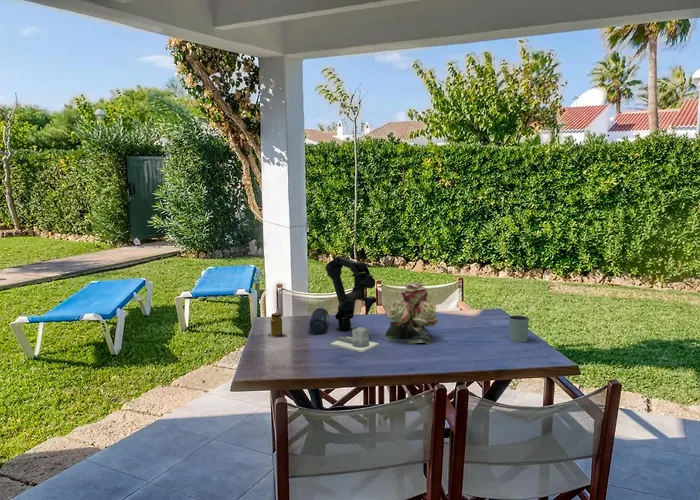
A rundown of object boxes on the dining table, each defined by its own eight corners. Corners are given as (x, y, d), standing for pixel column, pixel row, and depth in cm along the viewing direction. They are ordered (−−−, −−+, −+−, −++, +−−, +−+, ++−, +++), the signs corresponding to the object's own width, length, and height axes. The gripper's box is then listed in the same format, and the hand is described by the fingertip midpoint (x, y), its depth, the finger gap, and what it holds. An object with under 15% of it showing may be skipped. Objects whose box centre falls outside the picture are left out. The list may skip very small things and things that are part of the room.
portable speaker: (327, 335, 292) (326, 317, 290) (308, 335, 292) (308, 317, 291) (329, 322, 317) (329, 306, 315) (312, 322, 317) (312, 306, 315)
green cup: (529, 343, 274) (530, 320, 272) (508, 342, 276) (509, 319, 274) (526, 337, 284) (527, 315, 282) (507, 336, 286) (507, 314, 284)
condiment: (270, 334, 295) (269, 312, 293) (285, 332, 297) (284, 311, 295) (271, 338, 288) (270, 316, 286) (287, 336, 290) (286, 315, 288)
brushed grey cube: (352, 341, 271) (352, 329, 270) (359, 338, 275) (359, 327, 274) (361, 343, 267) (361, 331, 266) (369, 340, 272) (369, 329, 271)
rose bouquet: (380, 342, 279) (380, 285, 275) (401, 327, 304) (401, 275, 300) (427, 348, 267) (428, 289, 263) (445, 333, 293) (446, 279, 289)
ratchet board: (330, 345, 275) (330, 333, 274) (347, 338, 285) (347, 327, 285) (361, 352, 262) (361, 340, 261) (378, 345, 273) (378, 334, 272)
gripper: (336, 285, 286) (336, 314, 288) (364, 290, 275) (364, 319, 277) (349, 282, 295) (349, 310, 297) (377, 286, 283) (377, 315, 285)
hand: (359, 313), depth 289 cm, fingers open, 9 cm apart
